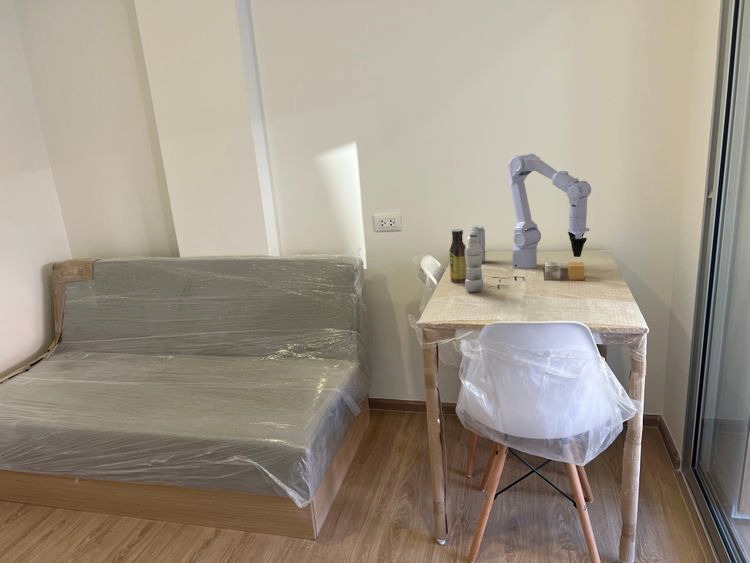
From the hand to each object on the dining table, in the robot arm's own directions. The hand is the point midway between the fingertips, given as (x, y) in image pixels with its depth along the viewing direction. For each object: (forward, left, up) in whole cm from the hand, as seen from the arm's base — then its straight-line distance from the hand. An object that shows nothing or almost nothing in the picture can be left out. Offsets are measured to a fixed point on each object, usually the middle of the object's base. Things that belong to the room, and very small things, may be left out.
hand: (576, 253), depth 194 cm
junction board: (-4, +2, -9) cm, 10 cm away
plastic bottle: (-35, -16, -10) cm, 40 cm away
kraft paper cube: (0, -2, -8) cm, 8 cm away
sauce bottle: (-42, -4, -10) cm, 43 cm away
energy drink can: (-37, +23, -10) cm, 45 cm away
